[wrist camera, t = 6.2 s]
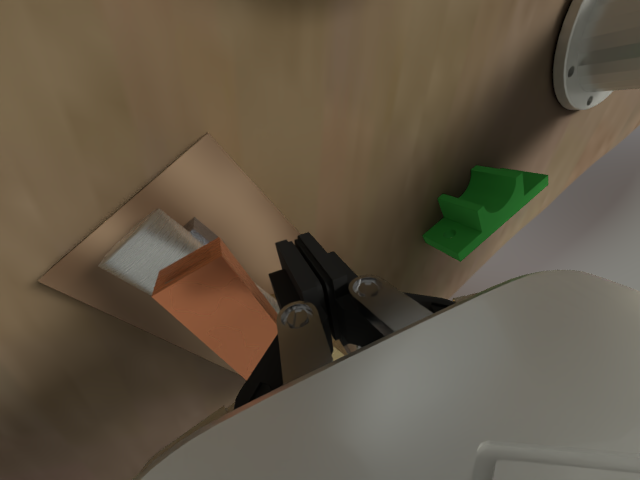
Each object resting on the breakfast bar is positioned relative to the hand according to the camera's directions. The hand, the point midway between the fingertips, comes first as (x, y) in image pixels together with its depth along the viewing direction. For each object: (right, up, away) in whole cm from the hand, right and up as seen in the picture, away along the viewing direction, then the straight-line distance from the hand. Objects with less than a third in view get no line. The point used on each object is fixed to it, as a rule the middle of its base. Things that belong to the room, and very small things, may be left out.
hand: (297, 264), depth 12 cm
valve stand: (-4, -4, +9) cm, 11 cm away
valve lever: (-2, -4, +2) cm, 5 cm away
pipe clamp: (+15, +6, +14) cm, 22 cm away
